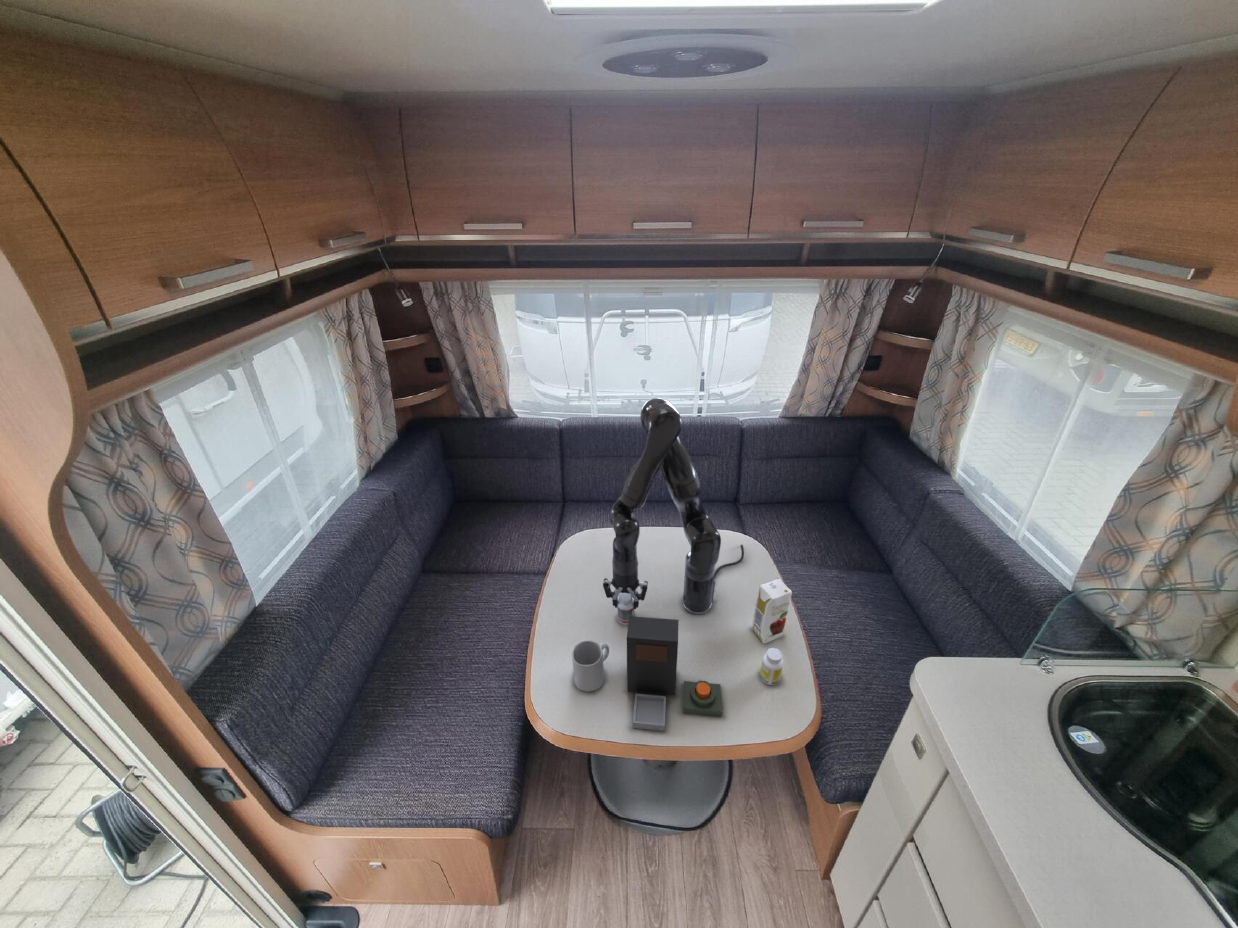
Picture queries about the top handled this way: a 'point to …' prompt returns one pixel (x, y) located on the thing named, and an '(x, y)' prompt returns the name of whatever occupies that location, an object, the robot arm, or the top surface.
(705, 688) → the button
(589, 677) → the mug
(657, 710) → the coffee maker
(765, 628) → the juice carton
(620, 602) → the pill bottle
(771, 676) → the supplement bottle
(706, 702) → the button block
